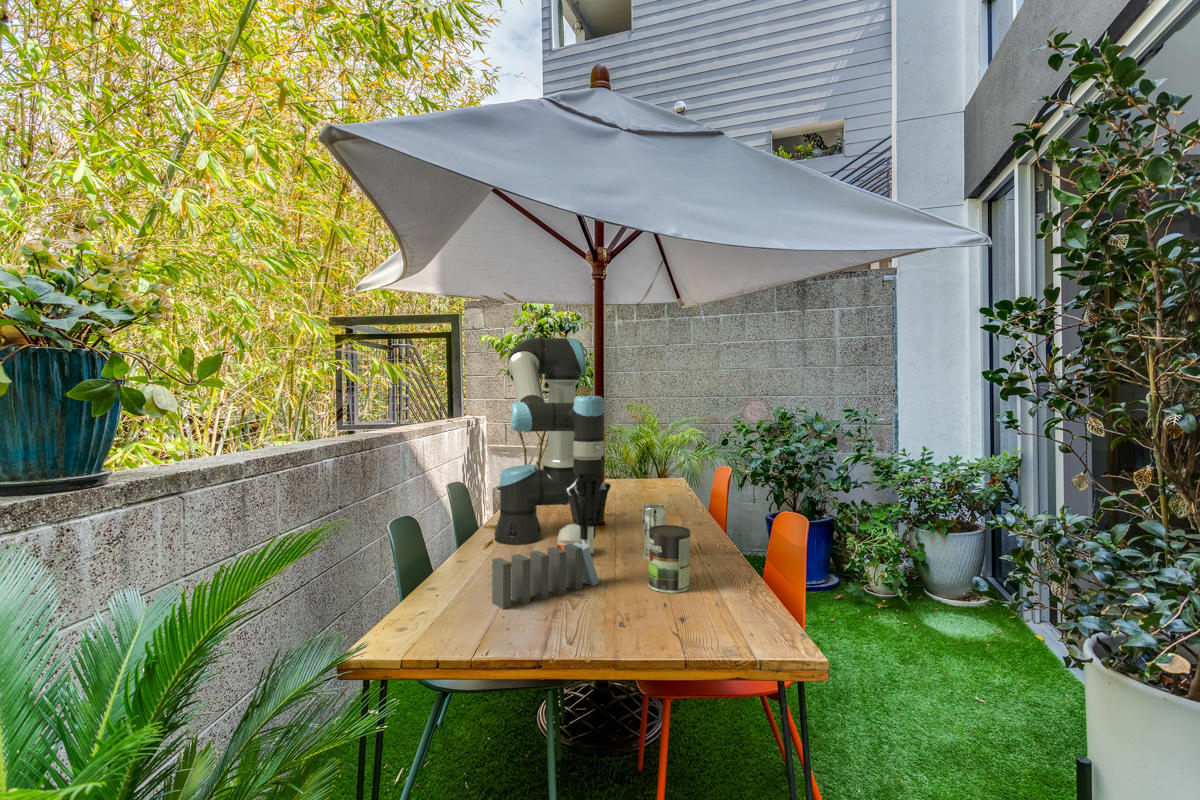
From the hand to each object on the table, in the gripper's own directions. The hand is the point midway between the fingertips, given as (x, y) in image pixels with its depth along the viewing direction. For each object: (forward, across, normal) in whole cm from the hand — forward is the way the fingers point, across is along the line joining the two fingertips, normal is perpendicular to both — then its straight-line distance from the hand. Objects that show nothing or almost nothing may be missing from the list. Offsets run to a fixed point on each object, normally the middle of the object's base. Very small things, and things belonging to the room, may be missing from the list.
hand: (587, 551), depth 148 cm
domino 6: (+8, +1, 0) cm, 8 cm away
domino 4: (+8, -9, 0) cm, 12 cm away
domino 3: (+8, -14, 0) cm, 16 cm away
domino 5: (+8, -4, 0) cm, 9 cm away
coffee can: (+8, +15, -14) cm, 22 cm away
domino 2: (+8, -19, 0) cm, 21 cm away
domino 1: (+8, -24, 0) cm, 26 cm away
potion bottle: (+8, +9, +20) cm, 23 cm away
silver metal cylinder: (+8, +29, +6) cm, 30 cm away
